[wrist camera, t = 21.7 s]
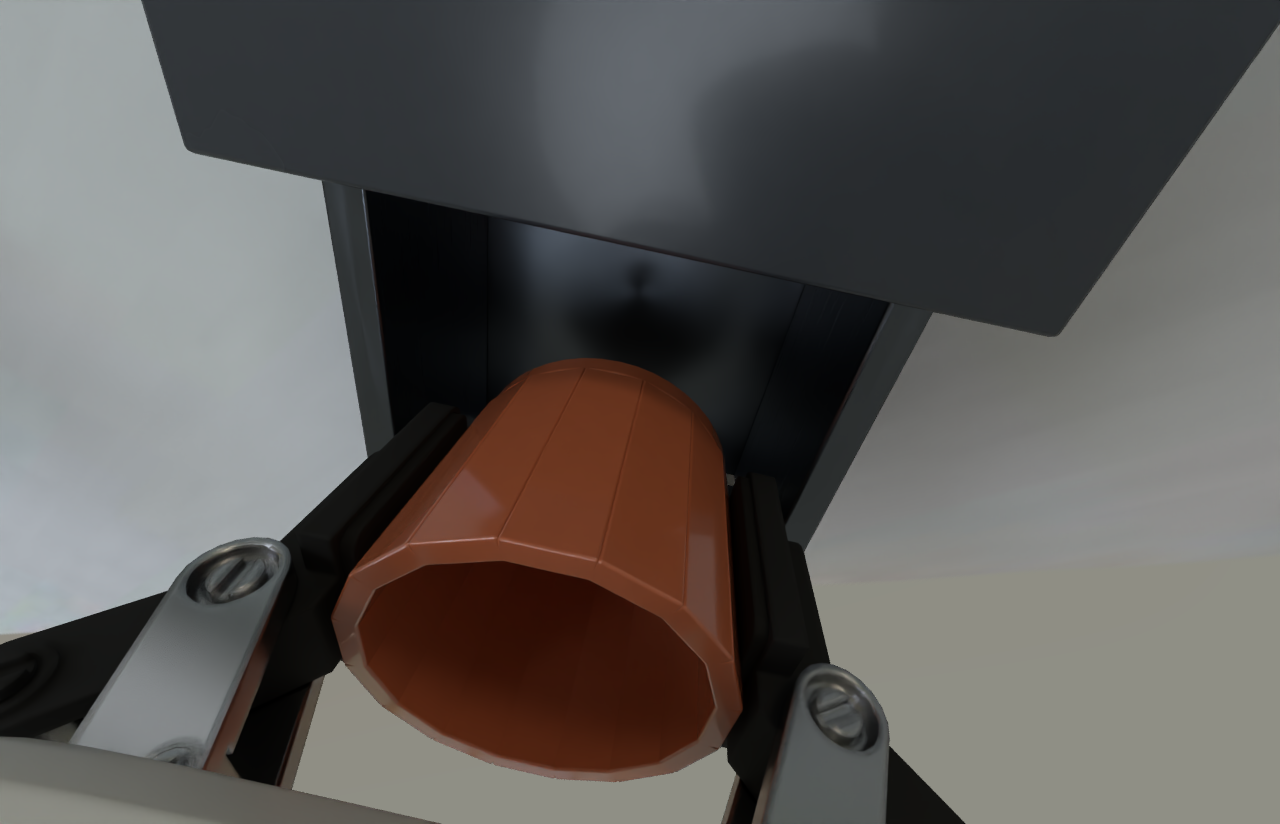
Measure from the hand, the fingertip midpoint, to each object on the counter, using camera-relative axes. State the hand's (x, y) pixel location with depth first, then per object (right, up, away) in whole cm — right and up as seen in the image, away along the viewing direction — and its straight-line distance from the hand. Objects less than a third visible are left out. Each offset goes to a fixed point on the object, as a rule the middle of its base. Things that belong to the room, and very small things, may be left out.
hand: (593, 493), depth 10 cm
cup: (0, 0, +1) cm, 1 cm away
